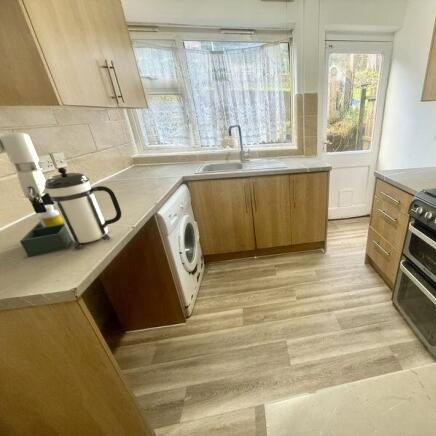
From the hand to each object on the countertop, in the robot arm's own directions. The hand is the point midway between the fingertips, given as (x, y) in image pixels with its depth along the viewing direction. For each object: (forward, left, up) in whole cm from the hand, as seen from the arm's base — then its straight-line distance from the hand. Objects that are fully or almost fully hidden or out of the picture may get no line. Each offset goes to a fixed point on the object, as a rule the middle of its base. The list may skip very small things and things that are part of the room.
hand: (45, 208), depth 100 cm
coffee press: (+15, -12, -13) cm, 23 cm away
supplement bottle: (0, 0, -12) cm, 12 cm away
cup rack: (0, -5, -13) cm, 14 cm away
